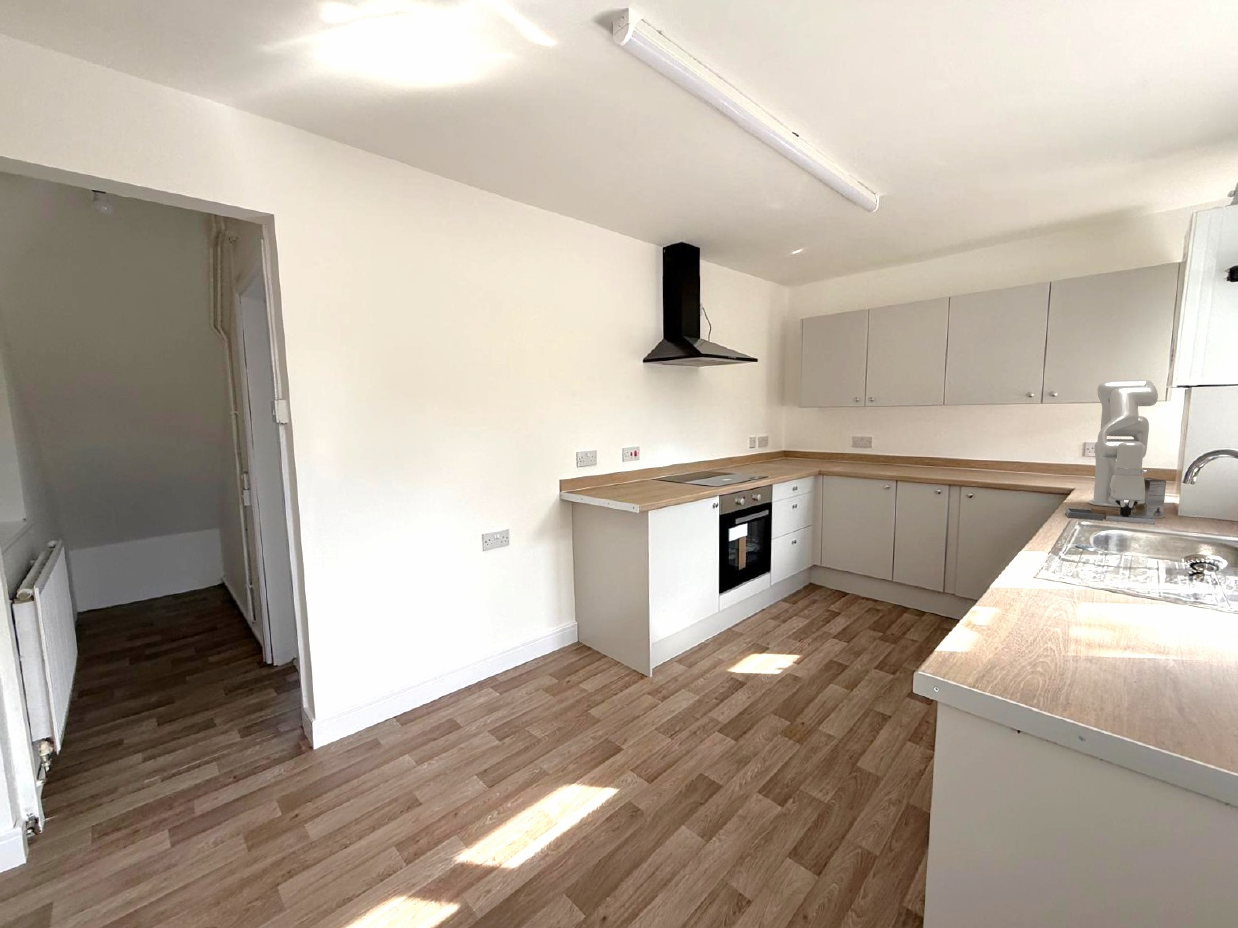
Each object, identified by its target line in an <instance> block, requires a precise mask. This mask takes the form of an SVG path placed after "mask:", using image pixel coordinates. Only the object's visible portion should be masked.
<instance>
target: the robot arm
mask: <svg viewBox="0 0 1238 928" xmlns="http://www.w3.org/2000/svg"><path fill="white" fill-rule="evenodd" d="M1097 396H1098V400H1099V401H1100V405H1101V417H1100V418H1101V419H1100V430H1099V432H1098V436H1097V441H1096V442H1095V444H1094V445H1093V446H1094V447H1093V449H1094V457H1095V470H1094V471H1095V473H1094V485H1093V499H1091V500H1089V501H1088V504H1089V505H1093V506H1094V505H1095V506H1098V507H1099V506H1100V507H1109V508H1110V507H1112V508H1117V507H1119V509H1120V510H1119V511H1120V514H1122V516H1123V517H1129V515H1131V508H1132V507H1133V506H1135V505H1136V504H1143V503H1145V500H1144V498H1145V482H1144V478H1145V477H1144V474H1147V473H1148V470H1147V469H1146V470H1145V469H1143V459H1144V458H1145V457H1146V455H1147V451H1148V442H1149V441H1148V440H1149V432H1150V422H1149V420H1148V418H1147V417H1145V416H1143V415H1139V407H1152V406H1155V404H1157V402H1158V398H1159V394H1158V390H1157V387H1156V386H1155V385H1154V383H1153V382H1152V381H1151V380H1148V379H1134V380H1132V379H1131V380H1114V381H1113V380H1112V381H1104V382H1101V383H1099V384H1098V386H1097ZM1107 437H1127V438H1107ZM1128 437H1129V438H1128ZM1130 437H1131V438H1130ZM1125 501H1128V502H1127V505H1126V503H1125Z"/></svg>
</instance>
